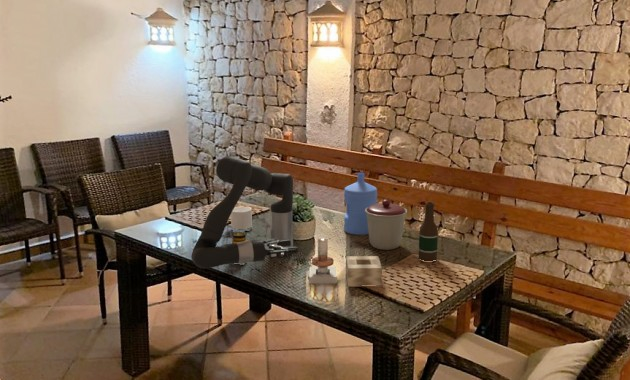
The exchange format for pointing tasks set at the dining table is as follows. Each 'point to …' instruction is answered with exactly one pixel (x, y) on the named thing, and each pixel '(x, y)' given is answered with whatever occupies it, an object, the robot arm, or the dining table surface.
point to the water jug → (358, 205)
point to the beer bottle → (428, 235)
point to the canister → (385, 225)
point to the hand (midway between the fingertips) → (293, 246)
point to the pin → (322, 257)
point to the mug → (241, 217)
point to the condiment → (239, 237)
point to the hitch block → (363, 270)
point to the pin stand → (322, 276)
